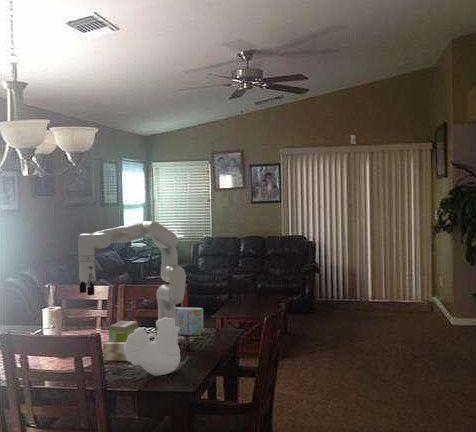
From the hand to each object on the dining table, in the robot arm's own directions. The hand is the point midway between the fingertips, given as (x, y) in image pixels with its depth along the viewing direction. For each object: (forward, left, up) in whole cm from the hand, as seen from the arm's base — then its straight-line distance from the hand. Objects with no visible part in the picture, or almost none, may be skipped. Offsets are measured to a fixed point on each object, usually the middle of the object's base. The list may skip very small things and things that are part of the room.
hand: (86, 293), depth 284 cm
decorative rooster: (-37, +26, -31) cm, 55 cm away
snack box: (-40, -52, -32) cm, 73 cm away
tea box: (-15, -10, -32) cm, 36 cm away
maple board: (-15, +4, -31) cm, 35 cm away
